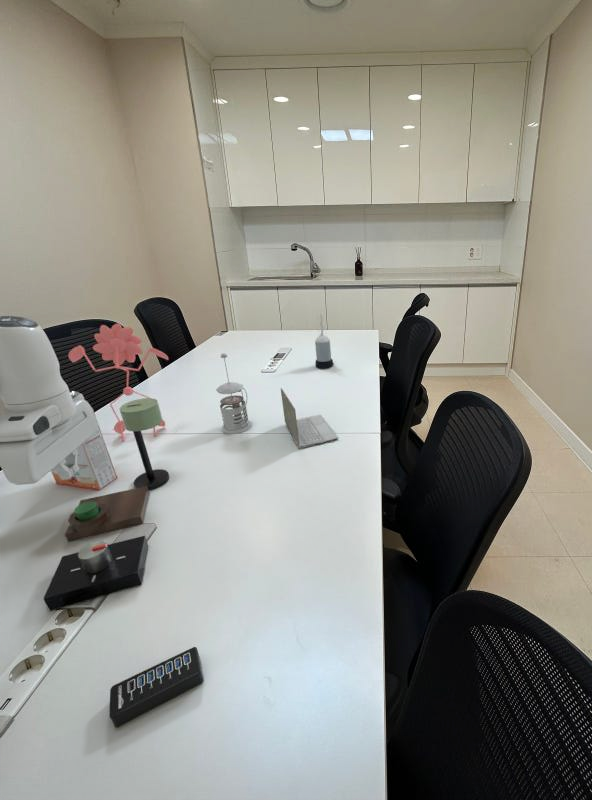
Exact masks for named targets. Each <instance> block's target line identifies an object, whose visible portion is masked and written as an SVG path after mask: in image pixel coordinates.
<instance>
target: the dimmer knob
mask: <svg viewBox="0 0 592 800" xmlns="http://www.w3.org/2000/svg"><path fill="white" fill-rule="evenodd" d="M108 545H109V544H108V543H107V542H106V541H104V540H96V541H92V542H90V543H88V544H86V545H85V546H83V547H82V548H80V550H79V551H78V552H79V553H78V552H77V553H78V557H79V560H80V562H81V564H82V566H83V569H84V571H85V572H86V573H89V574H92V573H97V572H99V571H102V570H103V569H105V568H106V567H108V566H109V565H110V563H111V562H112V556H111V553H110V550H109V548H108Z"/></svg>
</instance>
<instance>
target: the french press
mask: <svg viewBox="0 0 592 800" xmlns="http://www.w3.org/2000/svg"><path fill="white" fill-rule="evenodd" d="M220 358H221V359H223V361H224V365H225V371H226V377H227V382H225V383H223V384H221V385H219V386H218V387H217V388H216V390H215V391H216V392H217V393H218V394H221V395H228V396H225V397H223V398H222V399H221V400H220V406H219V408H220V414H221V417H222V424H223V425H222V426H221V432H222V433H223V434H227V435H235V434H241V433H243V432H247V431H248V430H250V429H251V428H252V427H253V422H252V421H250V420H249V416H248V410H247V404H248V393H247V390H246V389H245V388H244V385H243V384H242V383H239V382H236V381H235V382H234V381H230V379H229V374H228V369H227V363H226V358H228V355H227V353H221V354H220ZM243 390H244V392H245V397H246V400H245V398H244V393H243ZM240 392H241V395H233V394H236V393H240Z"/></svg>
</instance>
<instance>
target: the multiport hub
mask: <svg viewBox="0 0 592 800" xmlns="http://www.w3.org/2000/svg"><path fill="white" fill-rule="evenodd" d="M204 681H205V680H204V673H203V667H202V662H201V657H200V653H199V650H198V647H197V646H193V647H191V648H189V649H186V650H185V651H182V652H180V653H178V654H176V655H174V656H171V657H170V658H168V659H165V660H164V661H161V662H160V663H157V664H156V665H154V666H151V667H149V668H147V669H145V670H143V671H141V672H138V673H136V674H134V675H132V676H130V677H128V678H126V679H124V680H122V681H120V682H118V683H115V684H114V685H112V686H111V687H110V690H109V715H108V717H109V718H110V720H111V723H112V725H113V726H114V728H120V727H121V726H123V725H125V724H127V723H129V722H131V721H133V720H134V719H136V718H138V717H140V716H142V715H144V714H147V713H148V712H150V711H153V709H156V708H157V707H159V706H161V705H163V704H165V703H167V702H169V701H171V700H173V699H175V698H176V697H179V696H180V695H182V694H184V693H187V692H188V691H190V690H192V689H195V688H196V687H197V686H200V685H202V684H203V683H204Z"/></svg>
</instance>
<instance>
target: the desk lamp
mask: <svg viewBox="0 0 592 800" xmlns="http://www.w3.org/2000/svg"><path fill="white" fill-rule="evenodd" d="M119 412H120V415H121V418H122V419H121V420H123V422H124V425H125V428H126V430H125V431H129V432H132V433H133V436H134V439H135V442H136V445H137V449H138V452H139V456H140V458H141V461H142V462H141V463H142V465H143V468H144V471H145V472H143V473H141V474H140V475H138V476H137V477H136V478H135V479H134V480H133V486H134V489H135V488H140V487H145V486H148V488H149V492H150V491H154V490H156V489H158V488H161V487H163V486H164V485H166V484H167V483H168V482H169V481H170V474H169V471H167V470H166V469H162V468H161V469H159V468H158V469H153V466H152V463H151V460H150V456H149V453H148V449H147V447H146V443H145V440H144V437H143V433H142V431H146V430H150V429H153V427H155V428H156V427H158V425H159V424H160V423H161V422H162V421H163V420H164V418H163V415H162V411H161V408H160V405H159V401H158V400H157V399H156V398H153V397H151V398H147V397H144V398H138V399H134V400H130V401H128V402H125V403H123V404H122V405H121V406H120V407H119ZM162 418H163V419H162Z"/></svg>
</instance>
